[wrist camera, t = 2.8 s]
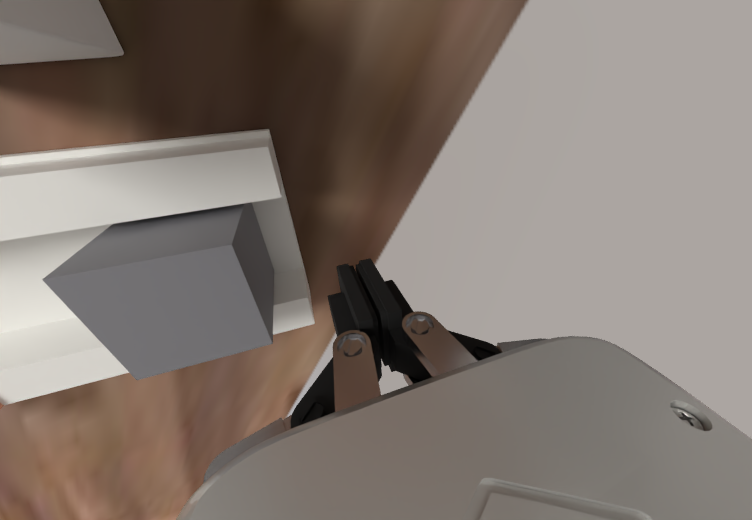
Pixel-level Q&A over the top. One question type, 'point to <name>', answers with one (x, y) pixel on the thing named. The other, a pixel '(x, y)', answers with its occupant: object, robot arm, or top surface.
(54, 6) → the milk carton
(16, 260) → the chute
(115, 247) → the block
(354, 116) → the top surface
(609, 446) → the robot arm
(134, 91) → the top surface
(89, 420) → the top surface
